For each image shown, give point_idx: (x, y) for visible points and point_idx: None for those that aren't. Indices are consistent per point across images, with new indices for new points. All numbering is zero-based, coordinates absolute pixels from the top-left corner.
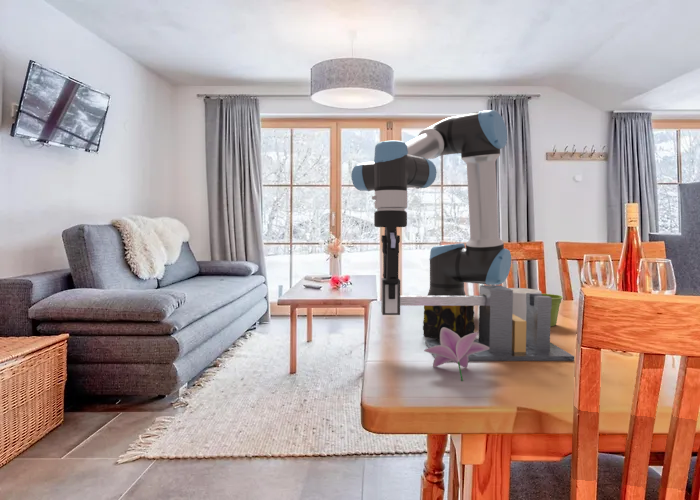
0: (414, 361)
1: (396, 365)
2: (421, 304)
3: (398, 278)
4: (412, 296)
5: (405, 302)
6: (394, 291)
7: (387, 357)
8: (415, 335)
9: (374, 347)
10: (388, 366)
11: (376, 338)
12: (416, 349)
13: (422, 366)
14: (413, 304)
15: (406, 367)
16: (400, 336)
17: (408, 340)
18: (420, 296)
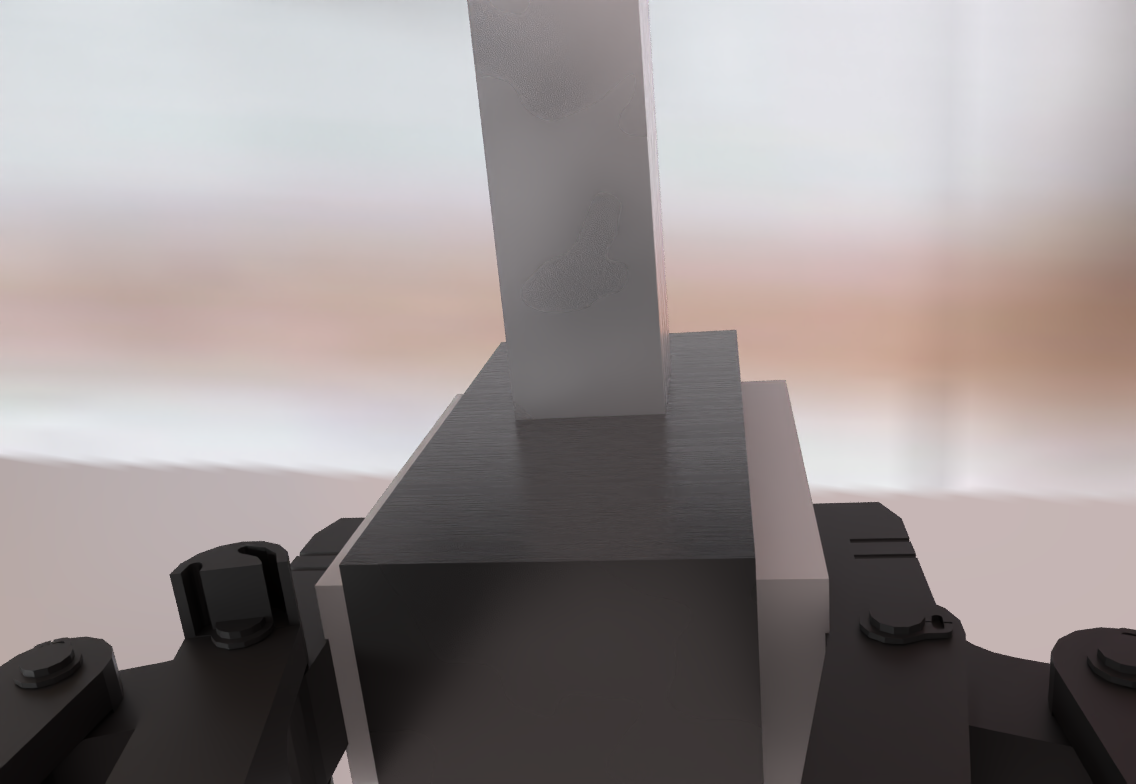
0: (956, 112)
1: (1067, 280)
2: (648, 9)
3: (420, 570)
4: (602, 183)
5: (663, 291)
6: (916, 577)
7: (836, 348)
8: (66, 46)
9: None
10: (1090, 347)
11: (256, 427)
12: None
13: (1111, 45)
14: (657, 152)
15: (1129, 196)
16: (139, 204)
17: (267, 131)
18: (589, 22)
